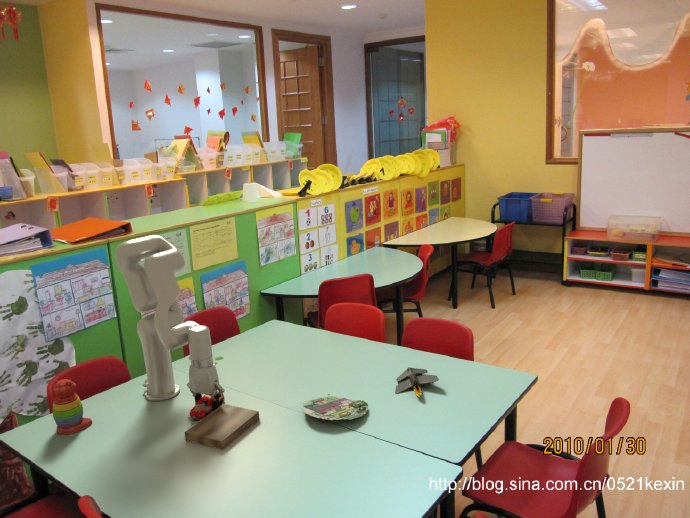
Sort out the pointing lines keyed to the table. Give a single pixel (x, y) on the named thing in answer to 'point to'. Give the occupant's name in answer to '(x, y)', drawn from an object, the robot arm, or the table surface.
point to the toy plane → (414, 380)
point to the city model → (334, 408)
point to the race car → (204, 407)
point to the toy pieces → (218, 359)
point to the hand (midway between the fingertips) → (207, 407)
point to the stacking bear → (68, 408)
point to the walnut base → (222, 426)
